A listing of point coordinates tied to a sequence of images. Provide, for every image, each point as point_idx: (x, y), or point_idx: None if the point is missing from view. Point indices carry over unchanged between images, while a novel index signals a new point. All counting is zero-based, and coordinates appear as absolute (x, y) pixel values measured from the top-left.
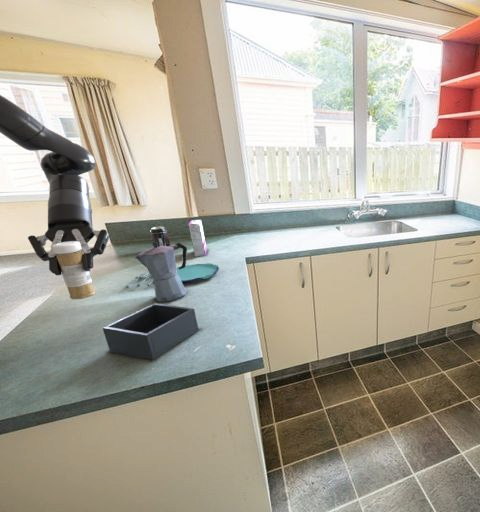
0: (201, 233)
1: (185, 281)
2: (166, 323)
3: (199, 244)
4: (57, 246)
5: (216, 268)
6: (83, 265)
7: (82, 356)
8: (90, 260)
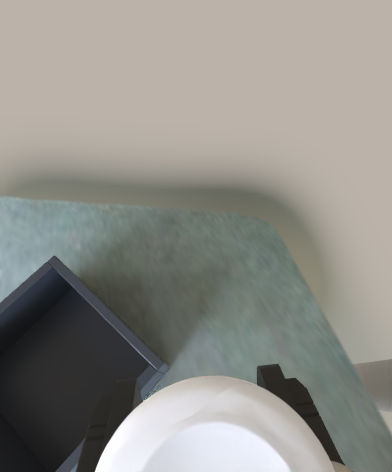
0: None
1: None
2: (4, 302)
3: None
4: (251, 386)
5: None
6: (131, 386)
7: (225, 374)
8: (89, 438)
